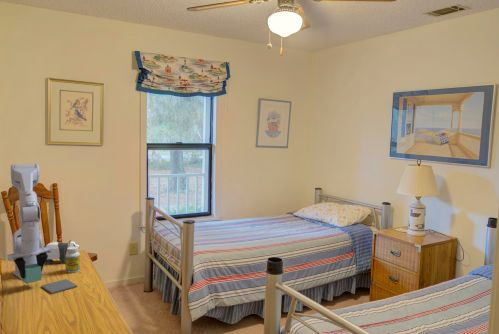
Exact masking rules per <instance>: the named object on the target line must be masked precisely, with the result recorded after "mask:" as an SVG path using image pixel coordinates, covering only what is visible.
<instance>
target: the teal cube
mask: <svg viewBox="0 0 499 334" xmlns="http://www.w3.org/2000/svg"><path fill="white" fill-rule="evenodd" d="M20 280H21V282H23V283H25V284H31V283H35V282H40V281H42V274H41V266H39V265H37V264H36V263H35V264H31V265H26V266H25V278H21V279H20Z"/></svg>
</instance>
